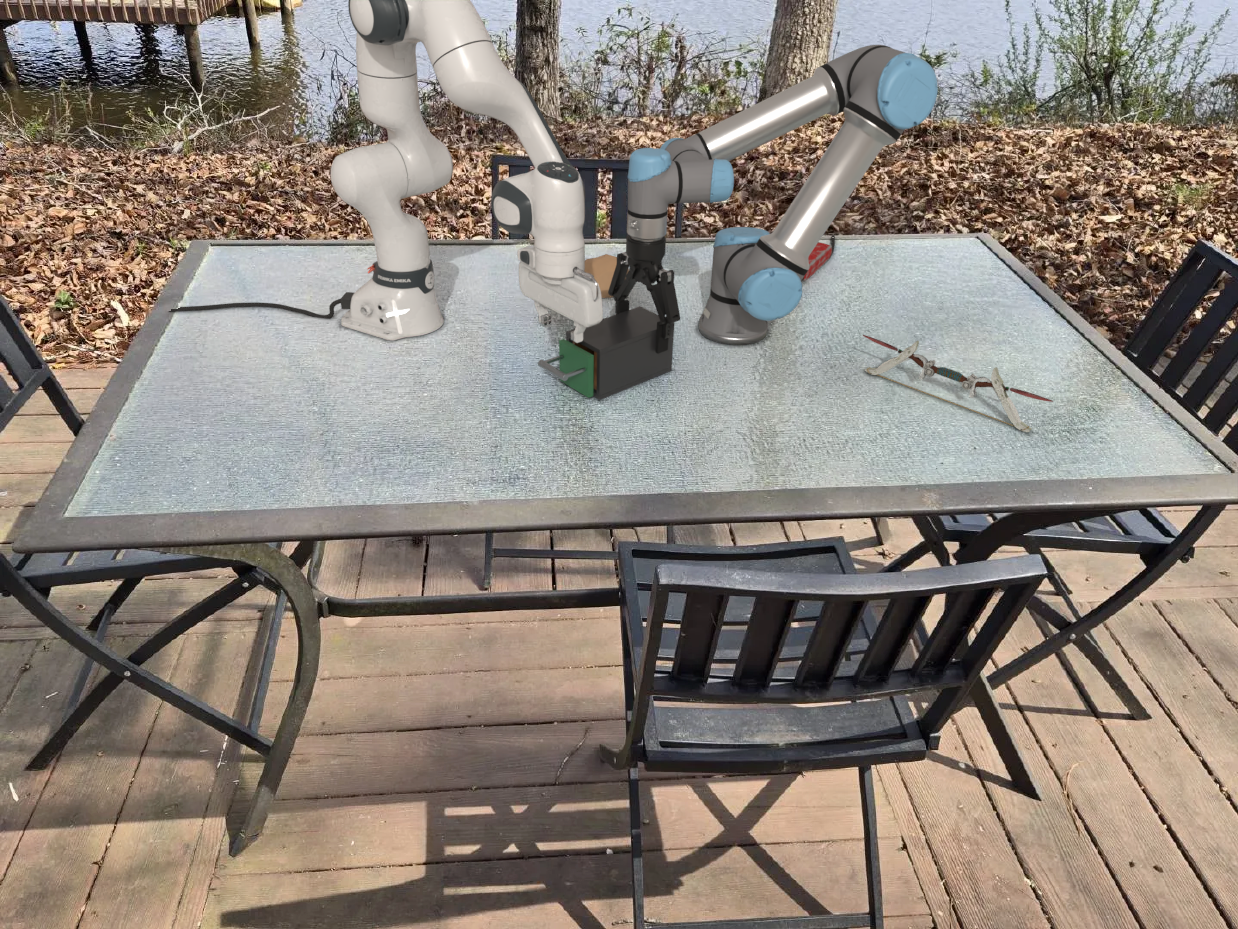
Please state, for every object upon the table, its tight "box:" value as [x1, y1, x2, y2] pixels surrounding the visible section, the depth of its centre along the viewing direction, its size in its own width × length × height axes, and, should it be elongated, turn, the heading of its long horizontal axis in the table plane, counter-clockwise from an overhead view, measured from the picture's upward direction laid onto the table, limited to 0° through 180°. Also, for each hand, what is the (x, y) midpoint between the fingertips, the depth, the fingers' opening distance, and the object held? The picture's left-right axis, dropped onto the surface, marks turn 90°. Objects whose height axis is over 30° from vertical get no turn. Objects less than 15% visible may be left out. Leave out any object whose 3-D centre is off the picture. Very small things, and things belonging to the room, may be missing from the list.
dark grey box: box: [565, 305, 675, 401], centre depth 175 cm, size 19×10×11 cm, turn 131°
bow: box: [862, 334, 1055, 433], centre depth 169 cm, size 39×2×10 cm, turn 47°
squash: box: [584, 253, 630, 299], centre depth 210 cm, size 11×20×9 cm, turn 90°
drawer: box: [537, 338, 597, 399], centre depth 171 cm, size 24×9×9 cm, turn 131°
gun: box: [801, 241, 832, 284], centre depth 227 cm, size 4×31×19 cm
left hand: (560, 332), depth 162 cm, fingers open, 8 cm apart
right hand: (641, 341), depth 178 cm, fingers open, 11 cm apart
